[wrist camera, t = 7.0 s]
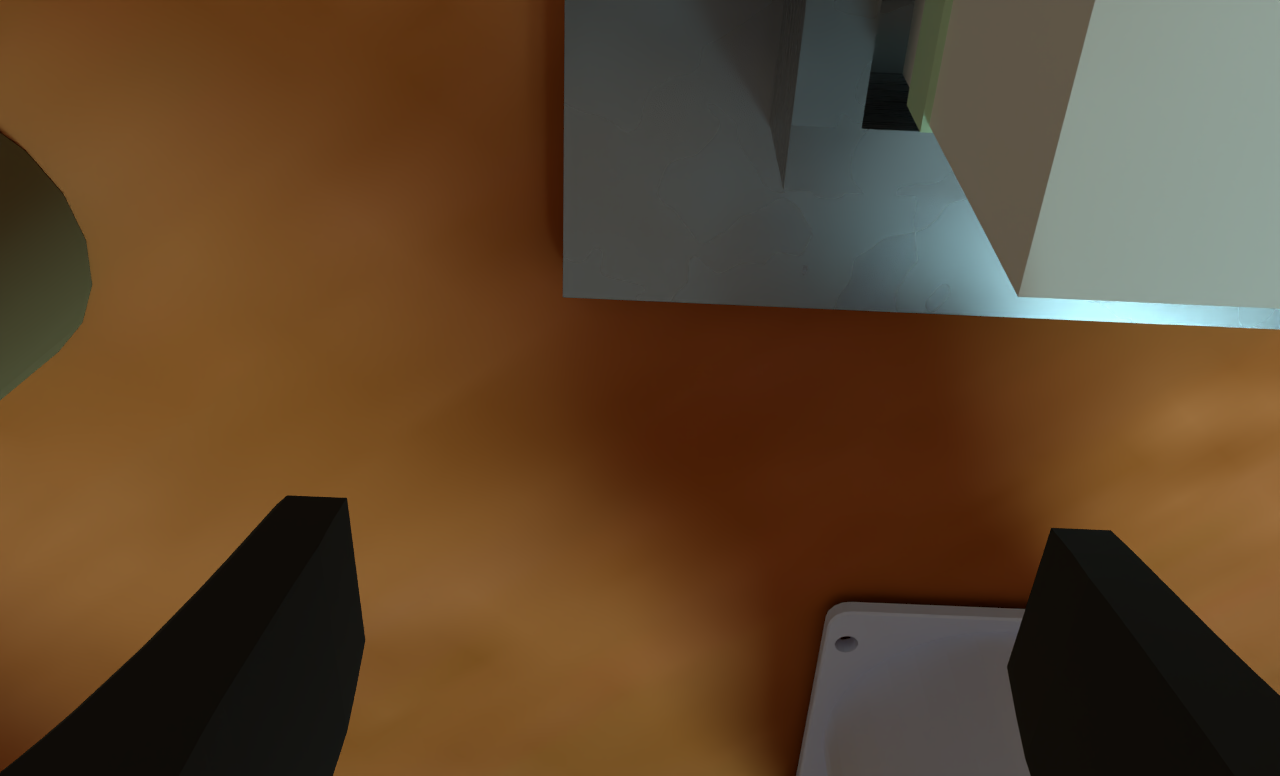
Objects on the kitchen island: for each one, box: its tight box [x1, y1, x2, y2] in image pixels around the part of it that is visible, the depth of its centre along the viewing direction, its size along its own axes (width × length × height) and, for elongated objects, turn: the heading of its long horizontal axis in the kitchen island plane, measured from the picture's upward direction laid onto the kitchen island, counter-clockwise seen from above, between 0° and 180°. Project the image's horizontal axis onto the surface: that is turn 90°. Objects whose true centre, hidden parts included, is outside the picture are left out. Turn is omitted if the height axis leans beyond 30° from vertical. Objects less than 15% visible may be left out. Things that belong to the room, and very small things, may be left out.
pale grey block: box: [902, 0, 1280, 309], centre depth 13 cm, size 4×4×6 cm
